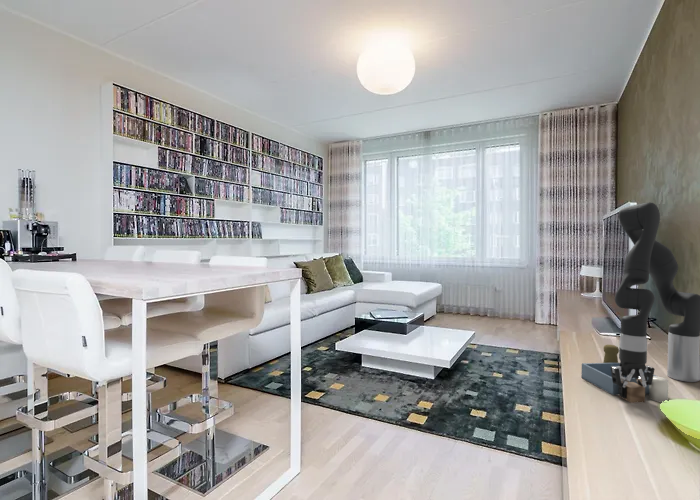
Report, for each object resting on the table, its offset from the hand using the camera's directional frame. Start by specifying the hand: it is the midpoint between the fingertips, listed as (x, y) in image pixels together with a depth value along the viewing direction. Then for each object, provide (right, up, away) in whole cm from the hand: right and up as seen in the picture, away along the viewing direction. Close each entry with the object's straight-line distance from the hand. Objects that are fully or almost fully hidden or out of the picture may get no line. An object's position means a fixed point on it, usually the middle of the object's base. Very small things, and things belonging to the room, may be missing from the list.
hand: (631, 397), depth 131 cm
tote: (+4, 0, +12) cm, 13 cm away
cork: (+11, 0, +26) cm, 28 cm away
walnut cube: (0, -1, 0) cm, 1 cm away
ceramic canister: (+9, -1, 0) cm, 9 cm away
